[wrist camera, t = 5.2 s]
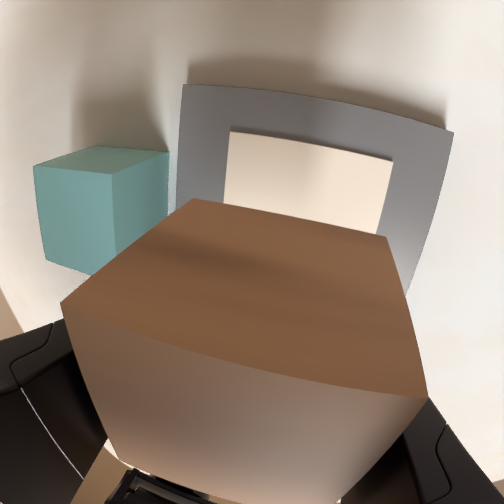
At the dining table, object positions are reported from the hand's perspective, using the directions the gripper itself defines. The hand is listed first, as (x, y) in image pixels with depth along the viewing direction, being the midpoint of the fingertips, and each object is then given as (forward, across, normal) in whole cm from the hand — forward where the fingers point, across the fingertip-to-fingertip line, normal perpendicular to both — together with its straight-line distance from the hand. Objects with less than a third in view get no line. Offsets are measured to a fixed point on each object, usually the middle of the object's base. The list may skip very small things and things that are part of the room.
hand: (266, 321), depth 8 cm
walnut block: (+1, 0, 0) cm, 1 cm away
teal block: (+8, +10, 0) cm, 13 cm away
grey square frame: (+8, 0, 0) cm, 8 cm away
